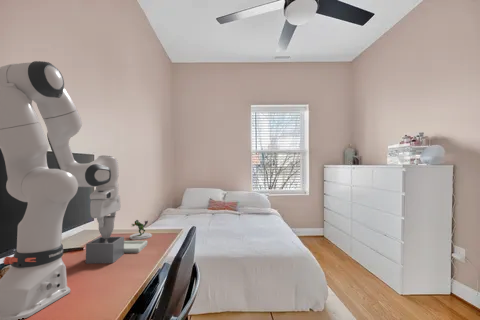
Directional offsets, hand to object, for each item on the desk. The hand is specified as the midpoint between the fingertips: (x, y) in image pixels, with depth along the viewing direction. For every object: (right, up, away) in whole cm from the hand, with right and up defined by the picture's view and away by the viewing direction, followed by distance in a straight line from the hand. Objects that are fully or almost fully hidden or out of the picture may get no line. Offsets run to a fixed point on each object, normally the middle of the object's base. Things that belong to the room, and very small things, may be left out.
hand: (106, 224), depth 112 cm
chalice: (0, -15, -1) cm, 15 cm away
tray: (+4, -15, +13) cm, 21 cm away
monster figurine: (+1, -16, +35) cm, 39 cm away
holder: (0, -15, -1) cm, 15 cm away
